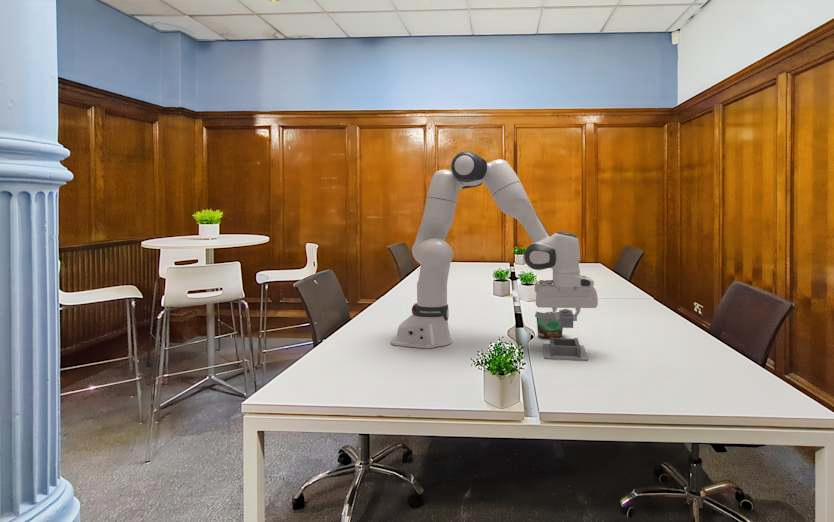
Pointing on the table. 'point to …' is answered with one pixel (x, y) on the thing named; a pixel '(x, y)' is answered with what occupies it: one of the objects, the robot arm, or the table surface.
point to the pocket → (564, 350)
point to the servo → (566, 318)
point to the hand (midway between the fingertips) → (566, 320)
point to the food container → (548, 325)
